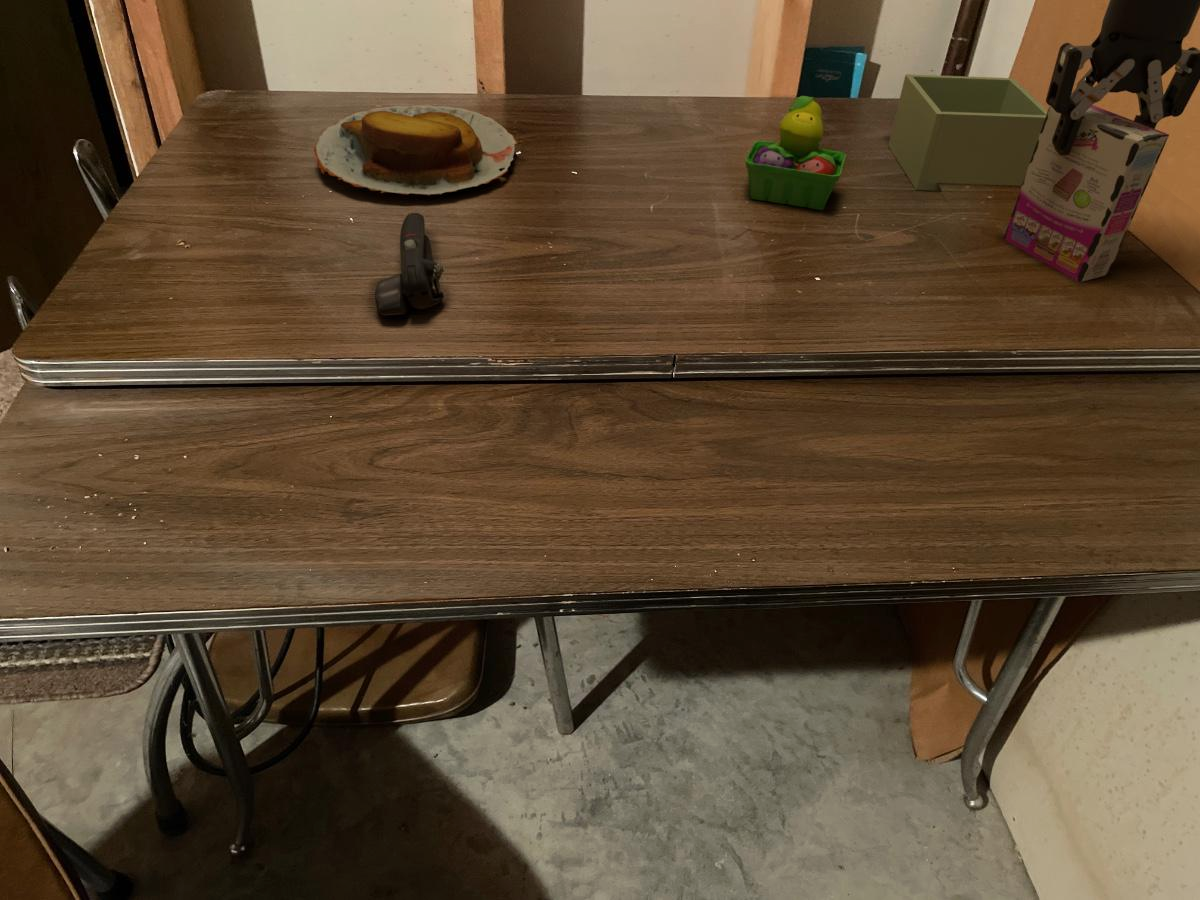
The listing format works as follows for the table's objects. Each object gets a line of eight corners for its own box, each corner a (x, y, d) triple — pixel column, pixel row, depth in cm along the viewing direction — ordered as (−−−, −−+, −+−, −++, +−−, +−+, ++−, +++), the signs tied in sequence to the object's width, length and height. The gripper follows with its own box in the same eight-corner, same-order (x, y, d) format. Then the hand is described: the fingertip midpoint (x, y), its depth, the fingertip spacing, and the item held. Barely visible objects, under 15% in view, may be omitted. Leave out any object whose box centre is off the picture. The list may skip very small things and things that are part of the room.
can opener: (446, 325, 88) (442, 273, 85) (373, 327, 88) (365, 275, 84) (452, 240, 102) (448, 192, 98) (388, 240, 101) (382, 192, 98)
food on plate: (513, 126, 128) (512, 78, 124) (523, 204, 110) (522, 150, 105) (328, 127, 125) (320, 78, 121) (305, 207, 107) (295, 152, 102)
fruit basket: (738, 201, 112) (751, 109, 105) (751, 174, 119) (764, 85, 112) (831, 217, 110) (851, 123, 103) (839, 188, 116) (859, 98, 109)
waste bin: (990, 149, 128) (1013, 78, 122) (1028, 194, 117) (1055, 117, 111) (887, 146, 128) (905, 74, 122) (915, 190, 117) (936, 113, 111)
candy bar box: (1108, 282, 100) (1173, 133, 89) (1076, 291, 98) (1139, 141, 88) (1028, 238, 107) (1080, 96, 97) (997, 246, 106) (1047, 103, 95)
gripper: (1219, -30, 87) (1146, 142, 98) (1071, -36, 87) (1013, 137, 97) (1263, -9, 81) (1180, 171, 92) (1105, -16, 81) (1040, 166, 92)
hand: (1095, 153), depth 95 cm, fingers closed on candy bar box, 6 cm apart
